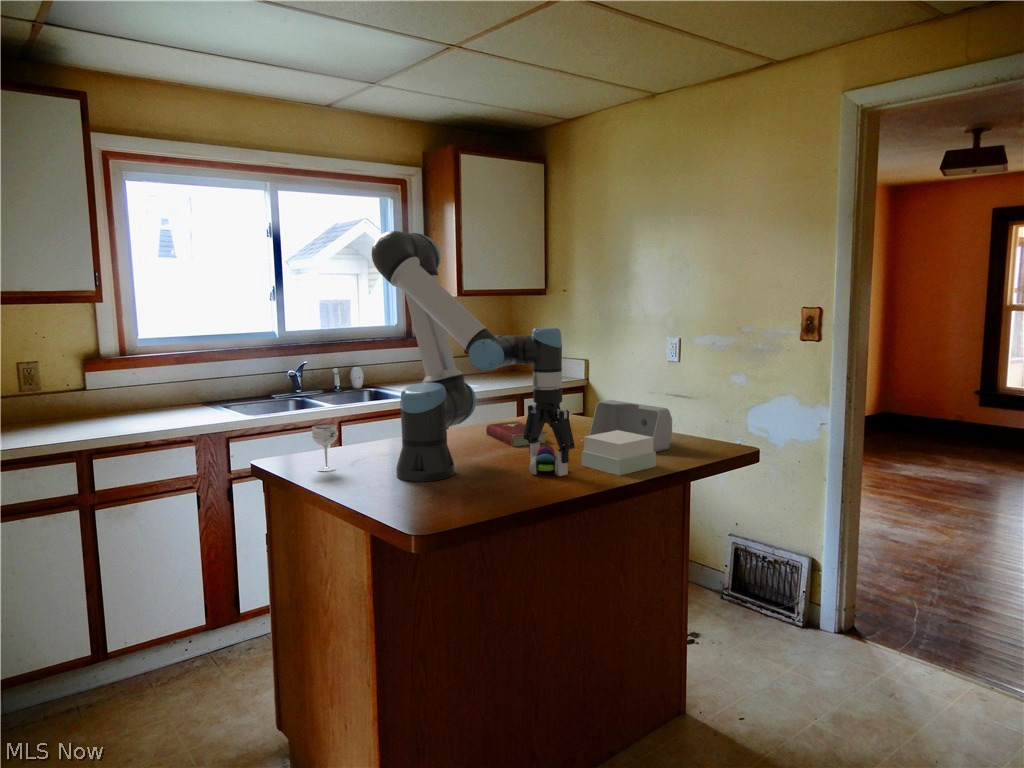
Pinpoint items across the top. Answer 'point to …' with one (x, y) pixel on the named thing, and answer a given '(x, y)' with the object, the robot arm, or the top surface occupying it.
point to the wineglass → (324, 436)
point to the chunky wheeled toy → (544, 460)
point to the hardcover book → (511, 433)
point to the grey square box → (618, 452)
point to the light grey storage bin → (634, 421)
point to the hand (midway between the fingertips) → (548, 470)
